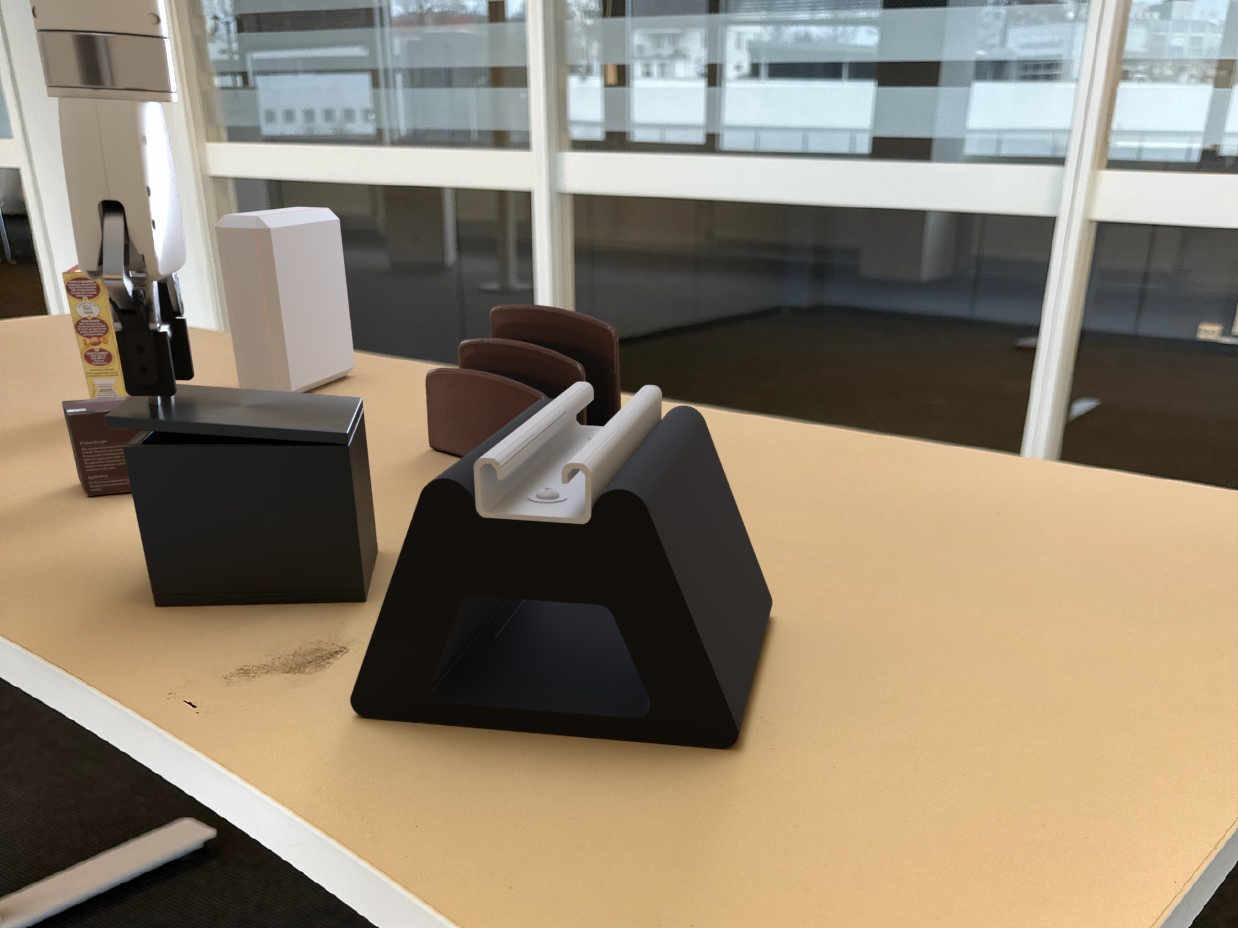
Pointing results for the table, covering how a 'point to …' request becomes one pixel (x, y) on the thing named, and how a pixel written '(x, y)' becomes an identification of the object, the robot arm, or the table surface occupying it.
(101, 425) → the box
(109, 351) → the candy box
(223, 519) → the waste bin
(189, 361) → the robot arm
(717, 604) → the device stand
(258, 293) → the bevelled white case
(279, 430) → the bin lid
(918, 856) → the table surface
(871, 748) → the table surface
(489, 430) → the letter holder
